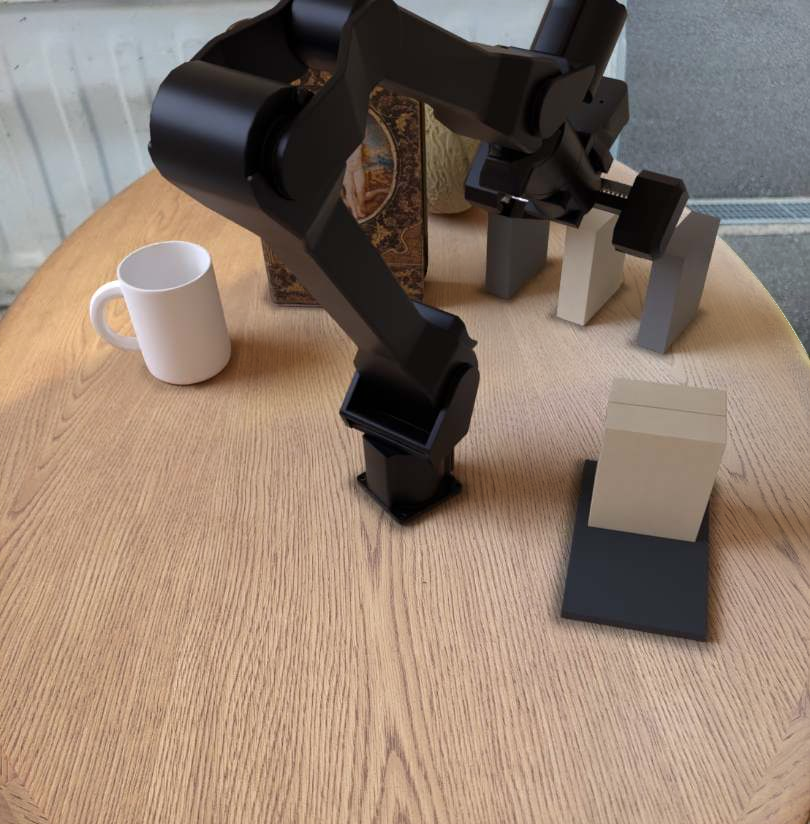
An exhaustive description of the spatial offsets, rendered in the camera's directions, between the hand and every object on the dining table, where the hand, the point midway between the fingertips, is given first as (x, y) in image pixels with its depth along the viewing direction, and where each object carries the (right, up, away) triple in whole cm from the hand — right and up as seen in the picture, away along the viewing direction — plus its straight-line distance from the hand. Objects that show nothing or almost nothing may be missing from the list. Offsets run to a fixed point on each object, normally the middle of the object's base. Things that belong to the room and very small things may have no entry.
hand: (594, 227), depth 81 cm
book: (-24, -3, +10) cm, 26 cm away
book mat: (0, -30, -14) cm, 33 cm away
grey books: (+1, -5, +7) cm, 9 cm away
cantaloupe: (-13, +10, +21) cm, 27 cm away
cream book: (+1, -5, +7) cm, 9 cm away
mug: (-40, -12, +3) cm, 42 cm away
